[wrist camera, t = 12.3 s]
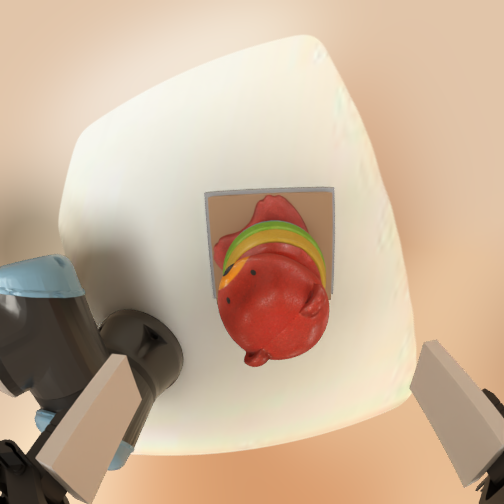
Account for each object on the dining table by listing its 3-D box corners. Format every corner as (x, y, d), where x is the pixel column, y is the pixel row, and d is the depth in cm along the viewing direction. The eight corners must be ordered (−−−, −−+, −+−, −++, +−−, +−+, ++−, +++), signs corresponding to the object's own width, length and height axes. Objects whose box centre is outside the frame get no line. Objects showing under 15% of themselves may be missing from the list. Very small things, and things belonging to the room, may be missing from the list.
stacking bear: (274, 186, 30) (287, 192, 13) (333, 251, 31) (399, 325, 14) (206, 251, 32) (147, 327, 15) (266, 309, 34) (265, 419, 16)
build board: (215, 294, 38) (209, 308, 34) (206, 192, 35) (198, 193, 31) (330, 290, 37) (337, 303, 33) (331, 187, 34) (340, 188, 30)
